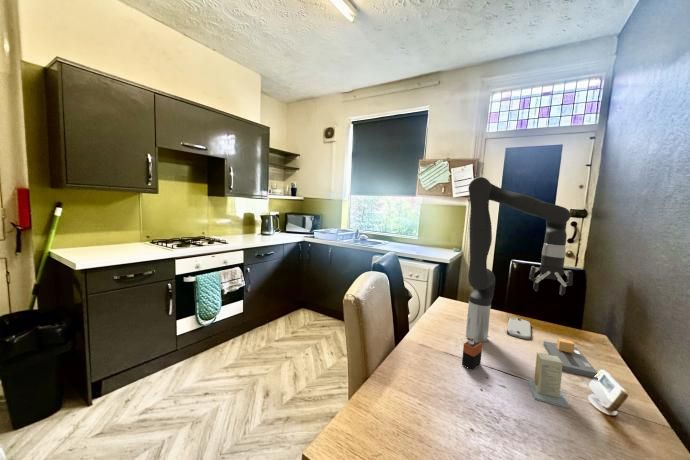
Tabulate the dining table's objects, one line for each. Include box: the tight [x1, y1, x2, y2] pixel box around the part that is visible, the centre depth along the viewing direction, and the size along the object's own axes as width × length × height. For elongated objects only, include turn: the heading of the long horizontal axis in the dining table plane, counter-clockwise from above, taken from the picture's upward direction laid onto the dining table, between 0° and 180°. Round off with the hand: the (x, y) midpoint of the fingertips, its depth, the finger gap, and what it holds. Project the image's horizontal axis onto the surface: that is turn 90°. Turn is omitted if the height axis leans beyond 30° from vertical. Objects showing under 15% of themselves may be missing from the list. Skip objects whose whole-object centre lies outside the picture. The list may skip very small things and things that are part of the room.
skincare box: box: [533, 352, 563, 398], centre depth 89 cm, size 6×4×12 cm
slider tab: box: [556, 337, 576, 353], centre depth 114 cm, size 3×5×4 cm, turn 66°
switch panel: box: [542, 340, 598, 378], centre depth 110 cm, size 20×12×2 cm, turn 156°
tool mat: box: [527, 379, 570, 409], centre depth 89 cm, size 9×10×1 cm
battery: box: [461, 339, 483, 371], centre depth 104 cm, size 4×7×10 cm, turn 127°
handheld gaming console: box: [506, 316, 532, 340], centre depth 137 cm, size 23×3×10 cm
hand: (548, 292), depth 112 cm, fingers open, 8 cm apart
